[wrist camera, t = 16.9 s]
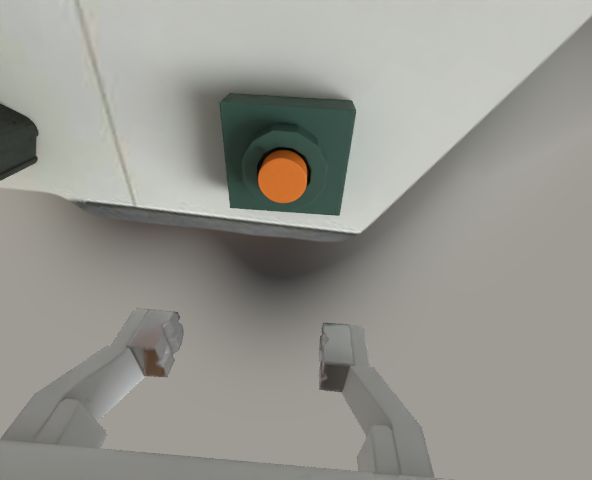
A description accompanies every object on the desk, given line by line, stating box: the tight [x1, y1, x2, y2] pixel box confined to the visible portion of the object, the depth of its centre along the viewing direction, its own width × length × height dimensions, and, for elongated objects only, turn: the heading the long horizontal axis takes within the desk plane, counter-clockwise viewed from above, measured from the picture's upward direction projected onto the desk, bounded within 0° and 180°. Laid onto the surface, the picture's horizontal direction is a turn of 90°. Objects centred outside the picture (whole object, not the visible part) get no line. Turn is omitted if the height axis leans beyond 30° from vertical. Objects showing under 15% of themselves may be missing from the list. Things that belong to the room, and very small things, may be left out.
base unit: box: [220, 93, 356, 216], centre depth 25 cm, size 10×9×5 cm
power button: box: [258, 150, 307, 203], centre depth 22 cm, size 4×4×2 cm
